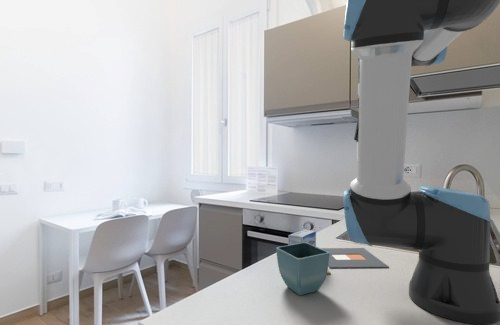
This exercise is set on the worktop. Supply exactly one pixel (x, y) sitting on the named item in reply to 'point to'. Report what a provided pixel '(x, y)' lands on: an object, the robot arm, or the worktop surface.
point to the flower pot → (302, 266)
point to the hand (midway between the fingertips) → (369, 160)
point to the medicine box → (302, 237)
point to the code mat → (353, 258)
